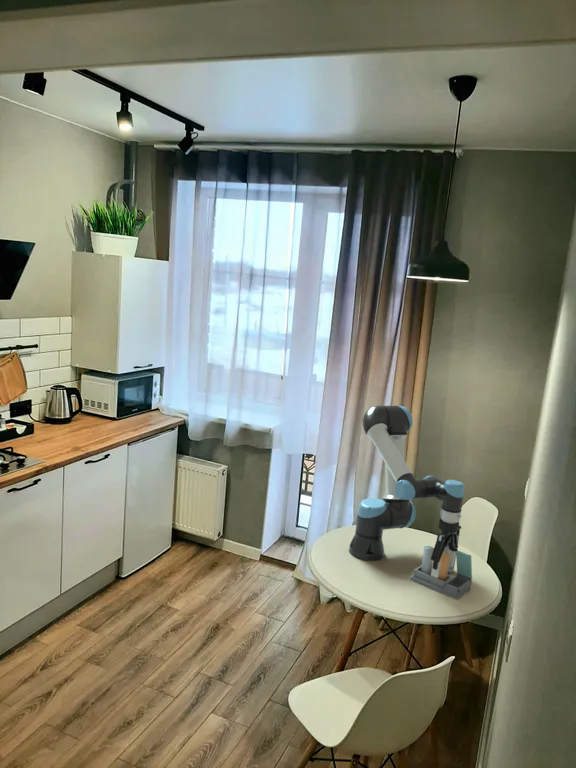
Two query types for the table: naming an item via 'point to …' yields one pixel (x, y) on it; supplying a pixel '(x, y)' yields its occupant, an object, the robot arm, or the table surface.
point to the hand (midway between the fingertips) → (441, 571)
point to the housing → (443, 583)
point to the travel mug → (451, 569)
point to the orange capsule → (444, 566)
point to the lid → (464, 564)
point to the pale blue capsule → (427, 560)
